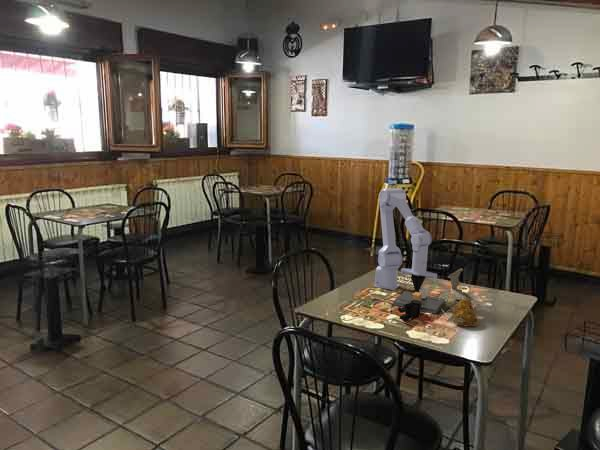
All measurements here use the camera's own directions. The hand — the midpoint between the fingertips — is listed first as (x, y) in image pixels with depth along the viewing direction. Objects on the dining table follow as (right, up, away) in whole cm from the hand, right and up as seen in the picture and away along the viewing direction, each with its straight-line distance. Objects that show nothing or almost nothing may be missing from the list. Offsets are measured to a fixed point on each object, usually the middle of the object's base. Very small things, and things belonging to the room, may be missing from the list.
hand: (417, 292), depth 197 cm
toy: (-7, -7, -18) cm, 20 cm away
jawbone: (+18, -3, +7) cm, 20 cm away
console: (0, -4, -4) cm, 5 cm away
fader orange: (-2, -3, -8) cm, 8 cm away
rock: (+12, -8, -21) cm, 25 cm away
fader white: (+2, -1, -1) cm, 3 cm away
